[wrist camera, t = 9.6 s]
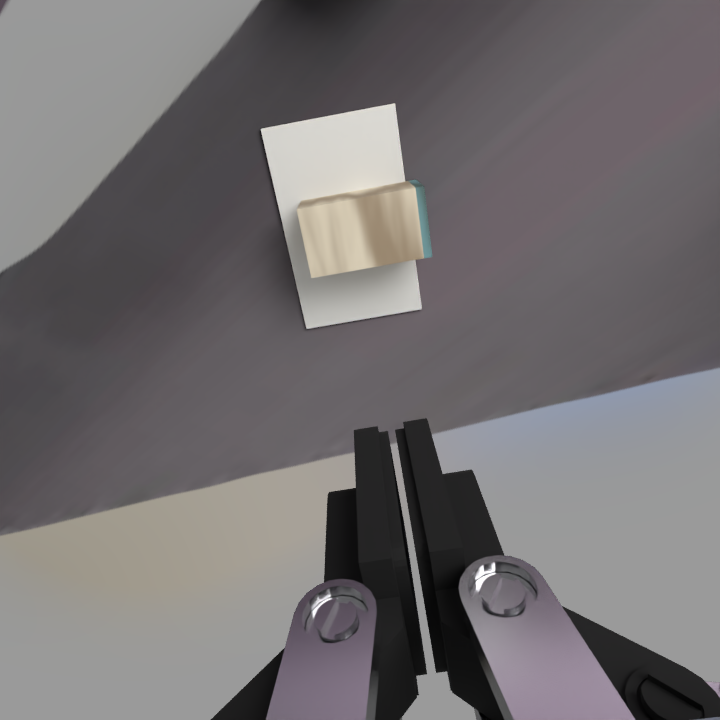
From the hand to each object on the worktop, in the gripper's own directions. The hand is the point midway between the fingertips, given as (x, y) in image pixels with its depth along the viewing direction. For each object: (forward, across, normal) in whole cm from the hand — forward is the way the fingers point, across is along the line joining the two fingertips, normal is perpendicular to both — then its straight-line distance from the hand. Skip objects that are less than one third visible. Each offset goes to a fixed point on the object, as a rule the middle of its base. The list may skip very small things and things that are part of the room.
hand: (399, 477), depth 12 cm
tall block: (+31, -5, 0) cm, 31 cm away
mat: (+33, +1, 0) cm, 33 cm away
